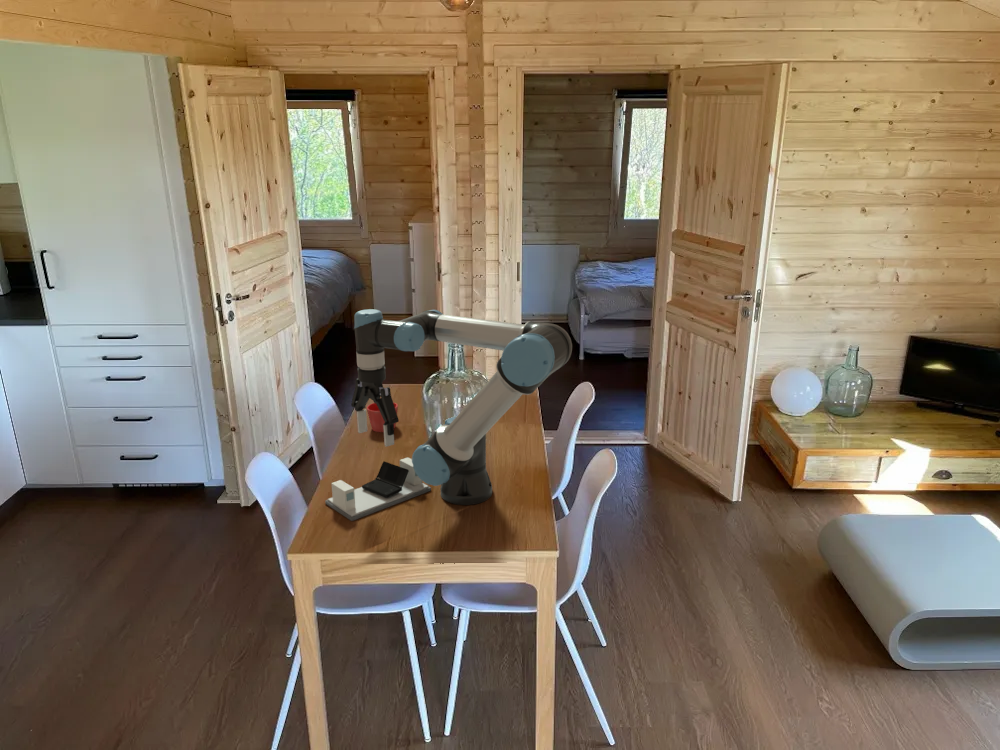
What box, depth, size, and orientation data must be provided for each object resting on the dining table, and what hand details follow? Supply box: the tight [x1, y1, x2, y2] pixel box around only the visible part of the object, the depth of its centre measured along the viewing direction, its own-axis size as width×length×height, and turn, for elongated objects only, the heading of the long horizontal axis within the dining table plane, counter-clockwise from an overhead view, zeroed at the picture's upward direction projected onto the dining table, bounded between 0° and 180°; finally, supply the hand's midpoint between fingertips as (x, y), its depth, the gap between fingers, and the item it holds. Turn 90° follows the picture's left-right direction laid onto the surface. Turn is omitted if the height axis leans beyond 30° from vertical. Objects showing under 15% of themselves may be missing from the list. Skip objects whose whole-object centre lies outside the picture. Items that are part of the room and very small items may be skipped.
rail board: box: [324, 457, 432, 522], centre depth 208 cm, size 14×27×8 cm, turn 133°
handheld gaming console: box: [361, 461, 409, 498], centre depth 211 cm, size 11×10×4 cm
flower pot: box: [366, 401, 399, 433], centre depth 257 cm, size 11×11×10 cm
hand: (375, 438), depth 204 cm, fingers open, 13 cm apart
